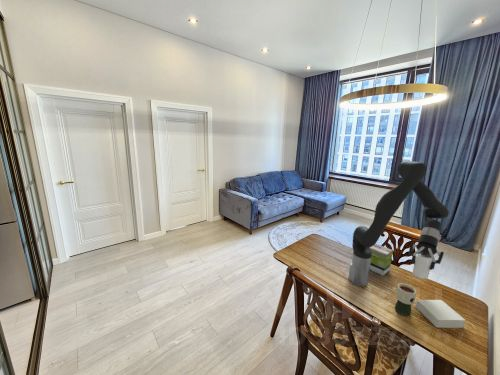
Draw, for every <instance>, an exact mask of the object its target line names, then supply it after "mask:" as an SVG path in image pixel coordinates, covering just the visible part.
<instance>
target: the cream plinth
mask: <svg viewBox="0 0 500 375" xmlns="http://www.w3.org/2000/svg"><path fill="white" fill-rule="evenodd" d="M415 308H416V309H417V310H418V311H419V312H420V313H421V314H423V316H424V317H425V318H426V319H427V320H428V321H429V322H430V323H431V324H432V325H433V326H434V327H435V328H449V329H453V328H454V329H460V328H461V329H463V328H464V327H465V324H466V319H465V318H464V317H462V315H460V314H459V313H457V311H455V310H454V309H453V308H452V307H451V306H449V305H448V304H447V303H446V302H445V301H443V300H442V299H416V302H415Z"/></svg>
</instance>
